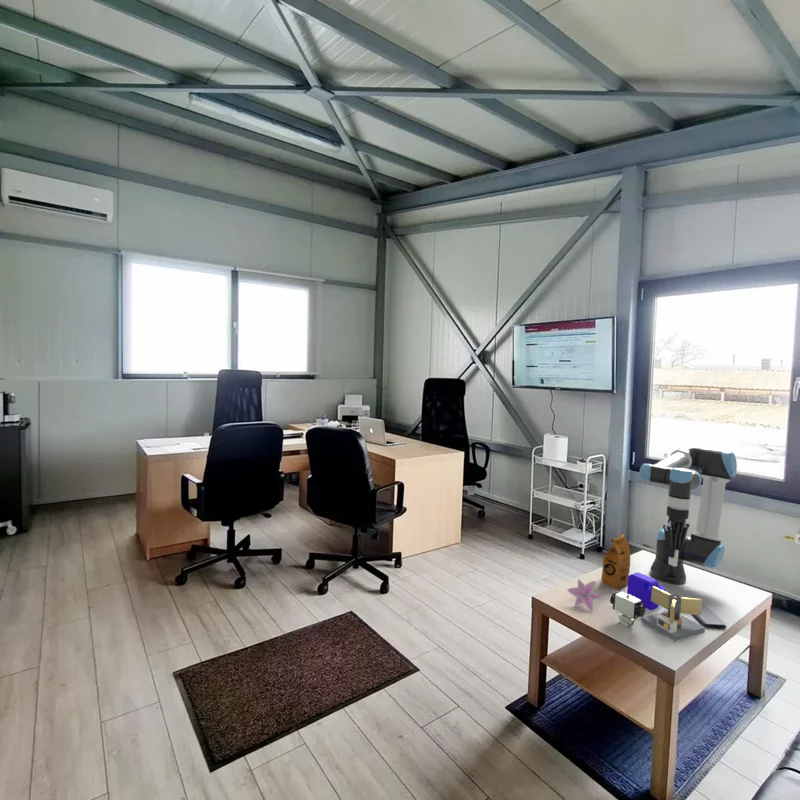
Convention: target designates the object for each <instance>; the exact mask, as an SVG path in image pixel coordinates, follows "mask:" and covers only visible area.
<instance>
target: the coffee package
mask: <svg viewBox="0 0 800 800" xmlns="http://www.w3.org/2000/svg"><path fill="white" fill-rule="evenodd" d="M610 542H612V543H613V544H612V545H611V546H610V549H609V550H608V551H607V552H606V553H605V555H604V557H603V559H602V570H601V571H602V572H601V578H600V579H601V582H602V584H604V585H606V586H608V587H611V588H612V589H616V590H620V588H622V587H626V586H628V577H629V575H630V568H631V549H630V545H629V544H628V541H627V539H626V536H625V534H620V535H619V537H618V538H611V539H610Z"/></svg>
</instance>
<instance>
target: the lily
mask: <svg viewBox="0 0 800 800" xmlns="http://www.w3.org/2000/svg"><path fill="white" fill-rule="evenodd" d="M595 588H596V581H595V580H592V581H590V582H588V583H586V584H585V583H584V582H583V581H582V580H581V579H579V578H578V579H577V587H576V586H575V587H571V588H568V589H567V592H568V593H569V594H570V595H572V596H574V597H575V598H576V599H575V603H574V606H575V607H579V606H580V605H582V604H584V605H583V606H585V607H586V609H588V610H589V611H590V612H593V611H594V601H596V600H601V599H602V597H601V596H600V595H599V594H597V593H595V592H594V591H595Z"/></svg>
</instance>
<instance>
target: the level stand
mask: <svg viewBox="0 0 800 800" xmlns="http://www.w3.org/2000/svg"><path fill="white" fill-rule="evenodd" d="M662 613H668V610H667V609H666V610H663V611H659V612H656V613H652V614H648V615H644V616H643V617H641V623H642V624H644V625H646V626H648V627H649V628H651V629H652V630H654V631H656V632H657V633H659V634H661V635H663V636H665V637H666V638H667V639H670V640H672V641H673V642H678V641H682V640H685V639H688V638H692V637H694V636H699V635H701V634H704V633H705V632H706V626H703V625H701V624H699V623H698V622H696V621H694V620H692V619H690V618H688V617H686V616H684V615H683V614H680V618H681V619H682V625H681V626H680V627H677V622H675V621H673V623H671V622H669V620H670V618H668V617H666V616H664V615H661V614H662Z"/></svg>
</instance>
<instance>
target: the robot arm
mask: <svg viewBox="0 0 800 800" xmlns="http://www.w3.org/2000/svg"><path fill="white" fill-rule="evenodd" d="M737 468H738V464H737V458H736V455H735V453H734V452H732V451H730V450H725V449H722V448H721V449H719V448H711V447H703V446H697V445H693V446H692V445H691V446H684V447H681V448H678V449H675V450H674V451H672V452H671V453H670V455H669V456H667V457H665V458H663V459H661V460H660V461H658V462H656V463H654V464H651V463H643V464H642V465H640V469H639V478H640V480H641V481H645V482H649V483H654V484H659V485H664V486H668V496H667V507H666V516H667V517H668V520H667V524H663V525H662V528H661V529H659V531H658V532H657V536H656V546H655V547H656V548H655V558H654V560H653V563H652V564H651V566H650V569H649V570H650V571H649V574H650V575H651V576H652V578H654V579H655V580H659V581H662V582H663V583H664V582H665V583H669V584H674V585H675V584H676V585H677V584H678V585H679V584H681V585H683V584H685V583H686V581H687V574H686V571H685V566H684V562H688V563H691V564H695V565H697V566H701V567H702V568H707V569H711V570H713V569H714V570H715V569H717V568H718V567H719V566H720V564H721V562H722V560H723V558H724V554H725V545H724V544H722V539H721V538H720V537H719V531H720V522H721V516H722V511H723V503H724V497H725V491H726V484H727V483H729V482H730V481H731V478H735V477H736V476H737V471H738V470H737ZM699 472H700V473H699ZM702 481H703V483H702ZM701 484H702V488H701V494H700V495H701V496H700V500H699V507H698V513H697V514H698V515H697V521H696V526H695V529H694V531H693V532H691V534H690V535H687V533H688V529H689V528H690V526H691V525H690V523H687V522H686V521H687V520H688V519H689V512H690V510H689V509H690V503H691V493H692V491H693V490H694V489H697V488H698V487H699V486H701Z"/></svg>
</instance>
